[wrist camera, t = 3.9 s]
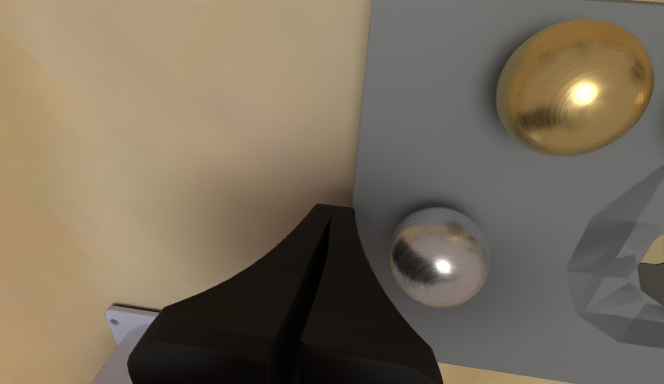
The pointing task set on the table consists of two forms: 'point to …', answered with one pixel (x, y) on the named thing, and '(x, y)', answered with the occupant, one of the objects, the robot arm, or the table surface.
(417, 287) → the ball
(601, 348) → the plate
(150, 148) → the table surface
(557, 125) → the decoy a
